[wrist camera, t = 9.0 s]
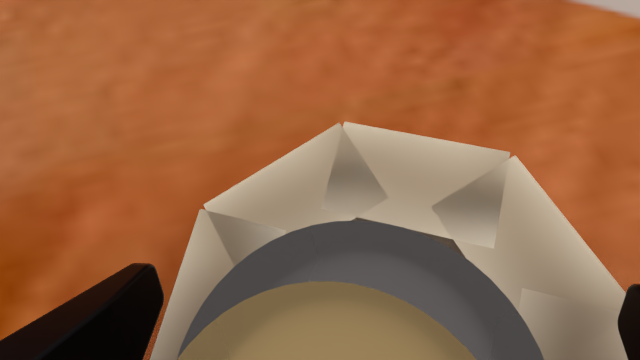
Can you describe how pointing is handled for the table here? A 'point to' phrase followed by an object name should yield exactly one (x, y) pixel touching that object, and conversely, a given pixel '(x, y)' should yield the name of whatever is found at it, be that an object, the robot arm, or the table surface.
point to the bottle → (357, 302)
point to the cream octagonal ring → (414, 229)
